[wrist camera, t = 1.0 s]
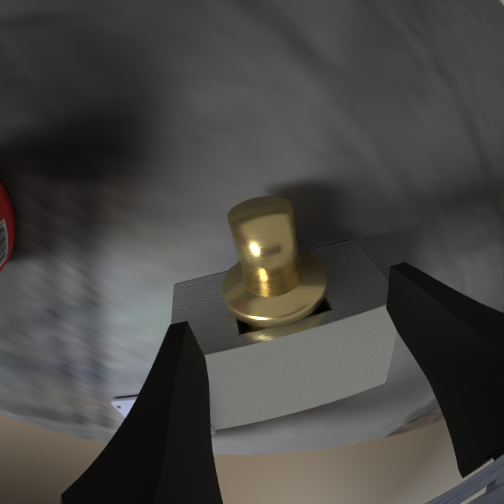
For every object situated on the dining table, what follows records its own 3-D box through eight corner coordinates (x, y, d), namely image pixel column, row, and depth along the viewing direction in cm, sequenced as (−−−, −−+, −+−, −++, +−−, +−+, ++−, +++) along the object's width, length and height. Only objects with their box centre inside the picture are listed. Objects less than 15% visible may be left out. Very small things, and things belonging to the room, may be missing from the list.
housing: (352, 322, 24) (385, 382, 19) (209, 360, 24) (215, 429, 18) (353, 238, 20) (402, 299, 14) (173, 284, 20) (169, 362, 14)
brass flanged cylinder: (315, 310, 22) (342, 369, 17) (240, 330, 22) (252, 394, 17) (300, 178, 17) (340, 221, 12) (200, 202, 17) (200, 256, 12)
